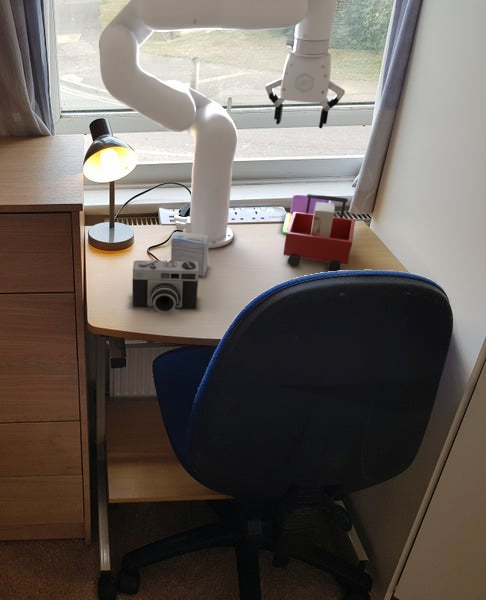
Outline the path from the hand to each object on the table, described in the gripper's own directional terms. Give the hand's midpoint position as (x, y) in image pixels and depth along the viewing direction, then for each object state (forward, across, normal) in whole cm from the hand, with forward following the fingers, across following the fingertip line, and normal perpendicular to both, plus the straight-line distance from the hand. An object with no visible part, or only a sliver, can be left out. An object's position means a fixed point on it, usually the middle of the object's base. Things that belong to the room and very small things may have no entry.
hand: (299, 124), depth 147 cm
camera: (+28, -19, -43) cm, 55 cm away
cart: (+28, +9, -9) cm, 31 cm away
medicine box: (+28, -18, -26) cm, 43 cm away
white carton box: (+26, +9, -9) cm, 29 cm away
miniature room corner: (+28, +5, +6) cm, 30 cm away
